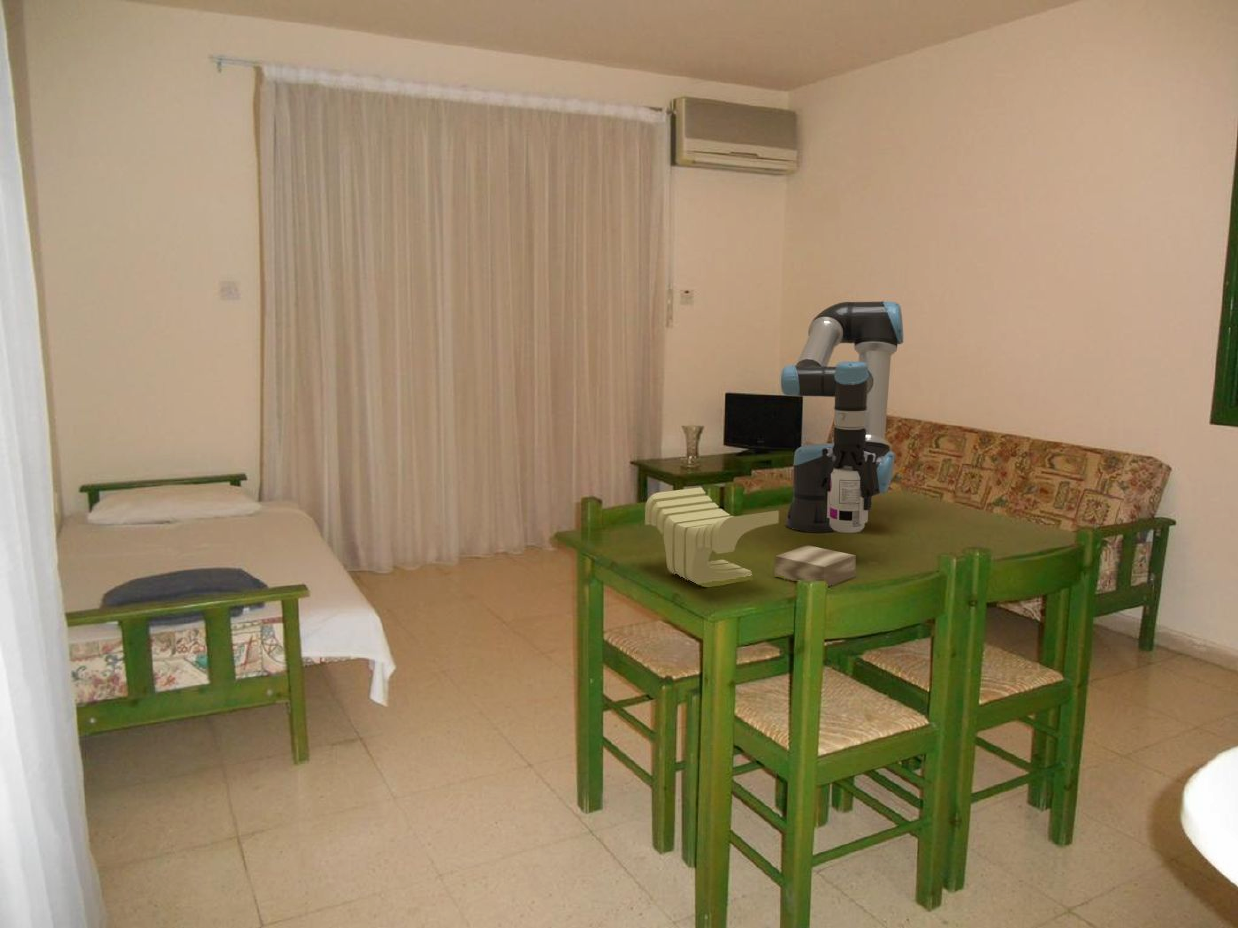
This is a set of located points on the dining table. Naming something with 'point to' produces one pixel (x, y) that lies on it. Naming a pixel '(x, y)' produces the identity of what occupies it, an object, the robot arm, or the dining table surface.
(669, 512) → the slatted curved stool
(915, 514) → the dining table surface
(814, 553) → the birch plinth
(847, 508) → the supplement can
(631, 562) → the dining table surface
